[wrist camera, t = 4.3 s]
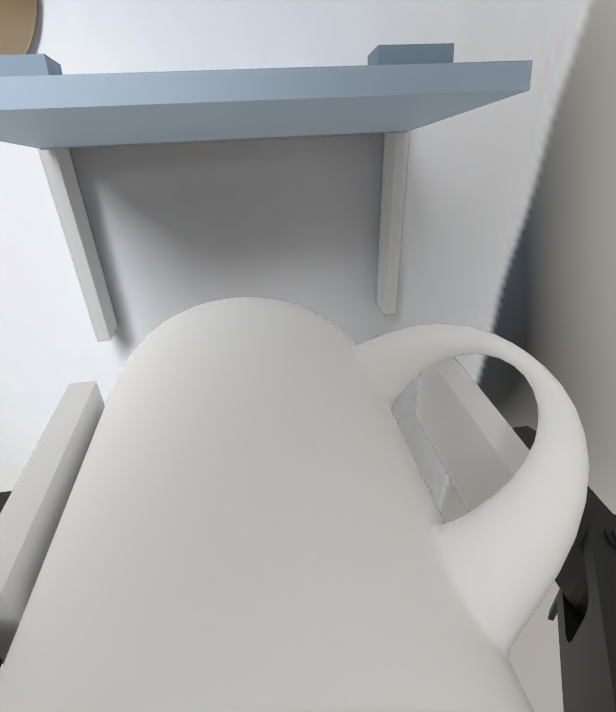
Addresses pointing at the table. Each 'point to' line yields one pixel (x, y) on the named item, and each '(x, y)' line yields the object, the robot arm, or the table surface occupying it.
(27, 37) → the coaster
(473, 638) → the mug
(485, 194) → the table surface
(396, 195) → the bracket
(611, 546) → the robot arm
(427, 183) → the table surface
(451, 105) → the cover
